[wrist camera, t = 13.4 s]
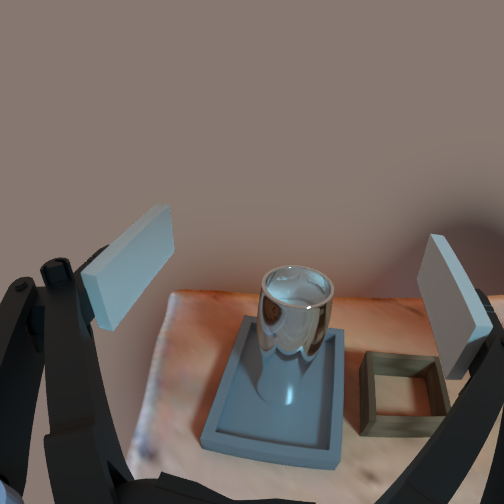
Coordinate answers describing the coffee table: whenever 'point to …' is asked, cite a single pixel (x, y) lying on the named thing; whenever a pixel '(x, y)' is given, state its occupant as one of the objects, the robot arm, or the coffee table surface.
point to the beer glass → (291, 330)
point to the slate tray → (279, 409)
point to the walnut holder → (406, 368)
